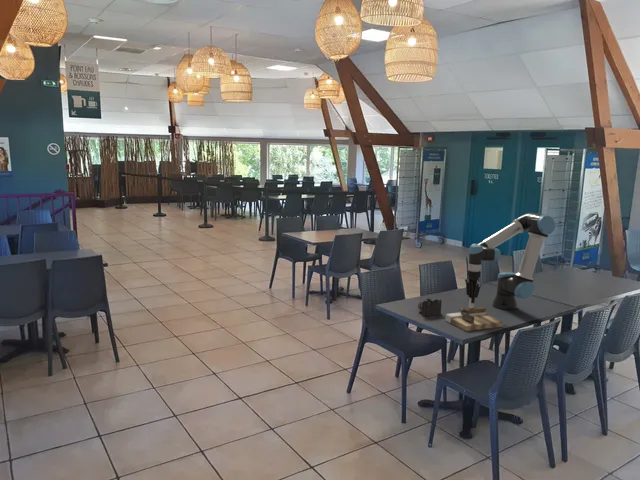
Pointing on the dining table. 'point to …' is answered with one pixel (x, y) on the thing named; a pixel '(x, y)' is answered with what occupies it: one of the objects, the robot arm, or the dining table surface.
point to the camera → (430, 307)
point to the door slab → (477, 322)
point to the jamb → (456, 315)
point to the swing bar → (473, 310)
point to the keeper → (468, 318)
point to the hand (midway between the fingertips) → (470, 307)
